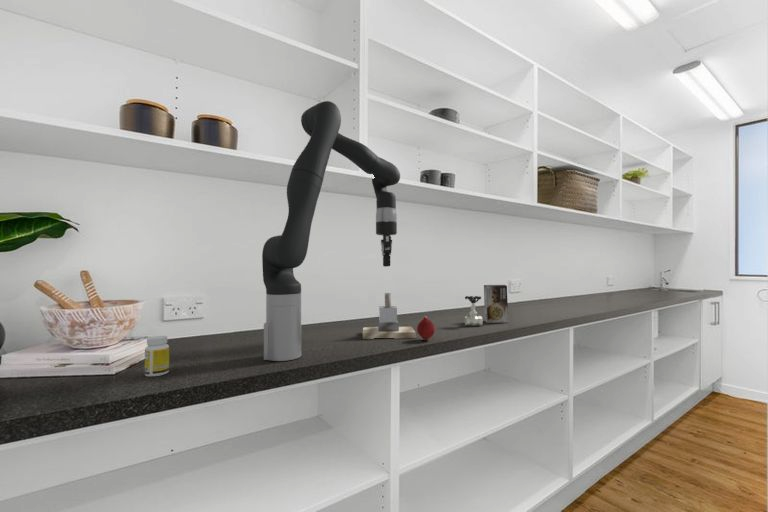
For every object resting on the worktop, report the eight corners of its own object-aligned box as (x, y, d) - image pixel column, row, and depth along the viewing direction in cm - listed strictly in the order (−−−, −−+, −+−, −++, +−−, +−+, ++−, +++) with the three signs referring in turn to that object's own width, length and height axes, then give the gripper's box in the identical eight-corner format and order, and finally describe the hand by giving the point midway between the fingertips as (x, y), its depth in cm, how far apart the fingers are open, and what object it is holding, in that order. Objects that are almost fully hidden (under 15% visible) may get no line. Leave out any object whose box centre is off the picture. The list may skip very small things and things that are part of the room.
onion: (438, 339, 118) (437, 315, 118) (430, 342, 113) (429, 317, 113) (422, 337, 121) (422, 314, 121) (414, 340, 116) (413, 316, 116)
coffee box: (505, 320, 158) (504, 284, 159) (508, 322, 152) (507, 285, 152) (484, 320, 159) (483, 284, 160) (486, 322, 153) (486, 285, 153)
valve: (483, 327, 142) (483, 297, 142) (467, 327, 142) (466, 297, 142) (479, 324, 148) (479, 295, 149) (463, 324, 148) (463, 296, 149)
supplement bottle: (173, 370, 84) (173, 335, 85) (161, 376, 80) (161, 339, 80) (152, 371, 84) (153, 335, 84) (139, 377, 79) (140, 339, 80)
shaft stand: (362, 339, 120) (362, 294, 120) (363, 332, 132) (362, 292, 132) (415, 338, 121) (414, 294, 121) (411, 331, 133) (410, 291, 133)
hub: (379, 322, 123) (379, 308, 124) (379, 320, 129) (379, 306, 129) (397, 322, 124) (396, 307, 124) (395, 319, 130) (395, 306, 130)
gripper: (375, 224, 135) (375, 266, 134) (376, 218, 121) (376, 266, 120) (395, 224, 135) (395, 266, 135) (398, 218, 121) (398, 266, 120)
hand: (386, 266), depth 127 cm, fingers open, 8 cm apart
